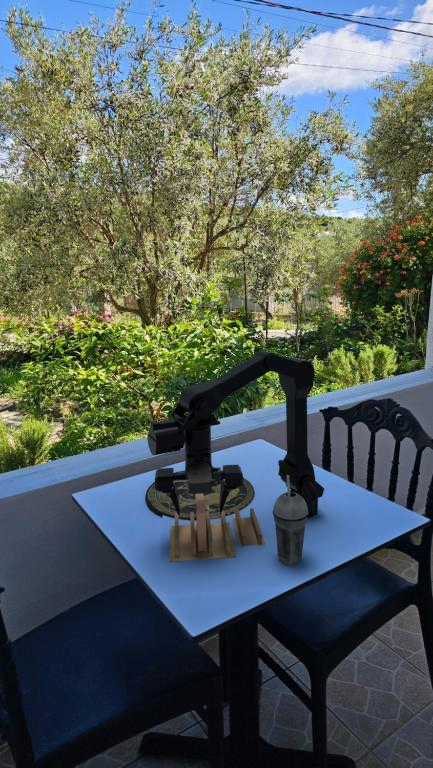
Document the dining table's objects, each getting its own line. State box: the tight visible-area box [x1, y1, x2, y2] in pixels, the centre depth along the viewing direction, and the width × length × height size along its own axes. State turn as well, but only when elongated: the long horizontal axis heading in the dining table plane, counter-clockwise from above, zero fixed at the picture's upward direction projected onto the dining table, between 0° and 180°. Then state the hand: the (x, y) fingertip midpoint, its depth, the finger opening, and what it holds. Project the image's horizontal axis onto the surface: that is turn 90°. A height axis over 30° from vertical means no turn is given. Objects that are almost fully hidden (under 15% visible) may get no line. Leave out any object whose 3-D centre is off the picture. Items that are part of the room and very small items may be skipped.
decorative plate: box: [144, 469, 256, 522], centre depth 128 cm, size 30×2×30 cm
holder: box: [232, 507, 266, 547], centre depth 109 cm, size 6×12×3 cm, turn 5°
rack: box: [168, 510, 237, 563], centre depth 105 cm, size 14×14×4 cm
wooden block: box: [195, 494, 207, 552], centre depth 104 cm, size 2×9×9 cm, turn 5°
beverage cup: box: [272, 475, 309, 567], centre depth 96 cm, size 7×7×20 cm
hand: (199, 513), depth 103 cm, fingers open, 9 cm apart
